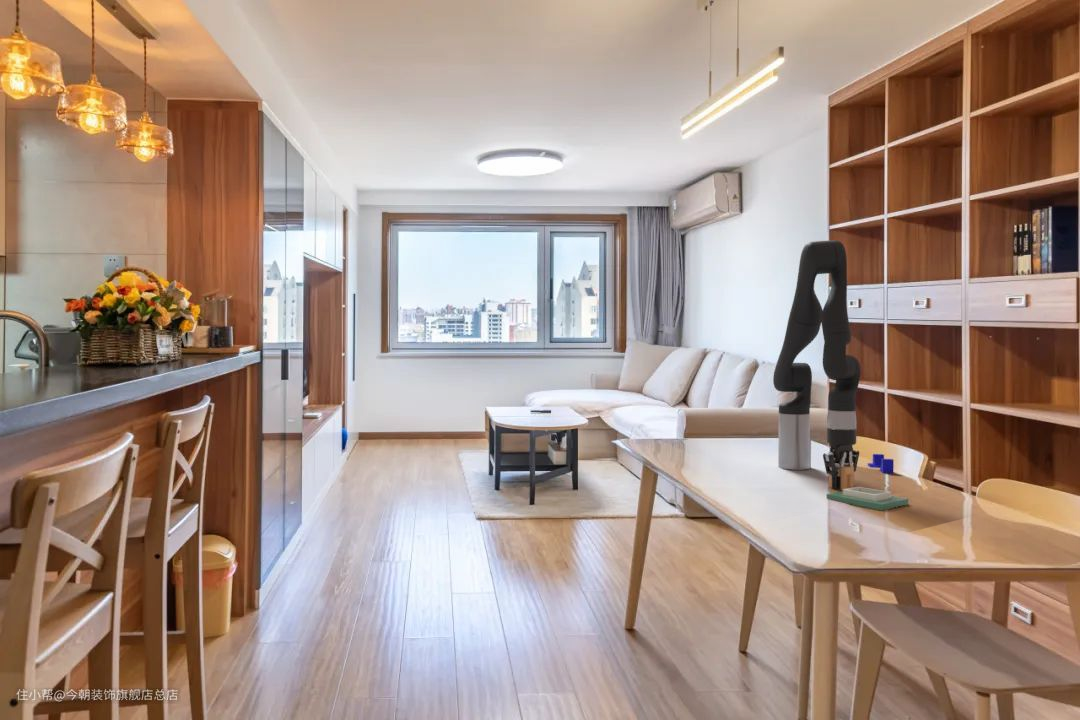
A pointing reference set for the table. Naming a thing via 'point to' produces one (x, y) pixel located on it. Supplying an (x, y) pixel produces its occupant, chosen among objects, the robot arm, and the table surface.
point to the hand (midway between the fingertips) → (841, 488)
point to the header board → (868, 498)
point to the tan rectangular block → (845, 477)
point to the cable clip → (882, 463)
